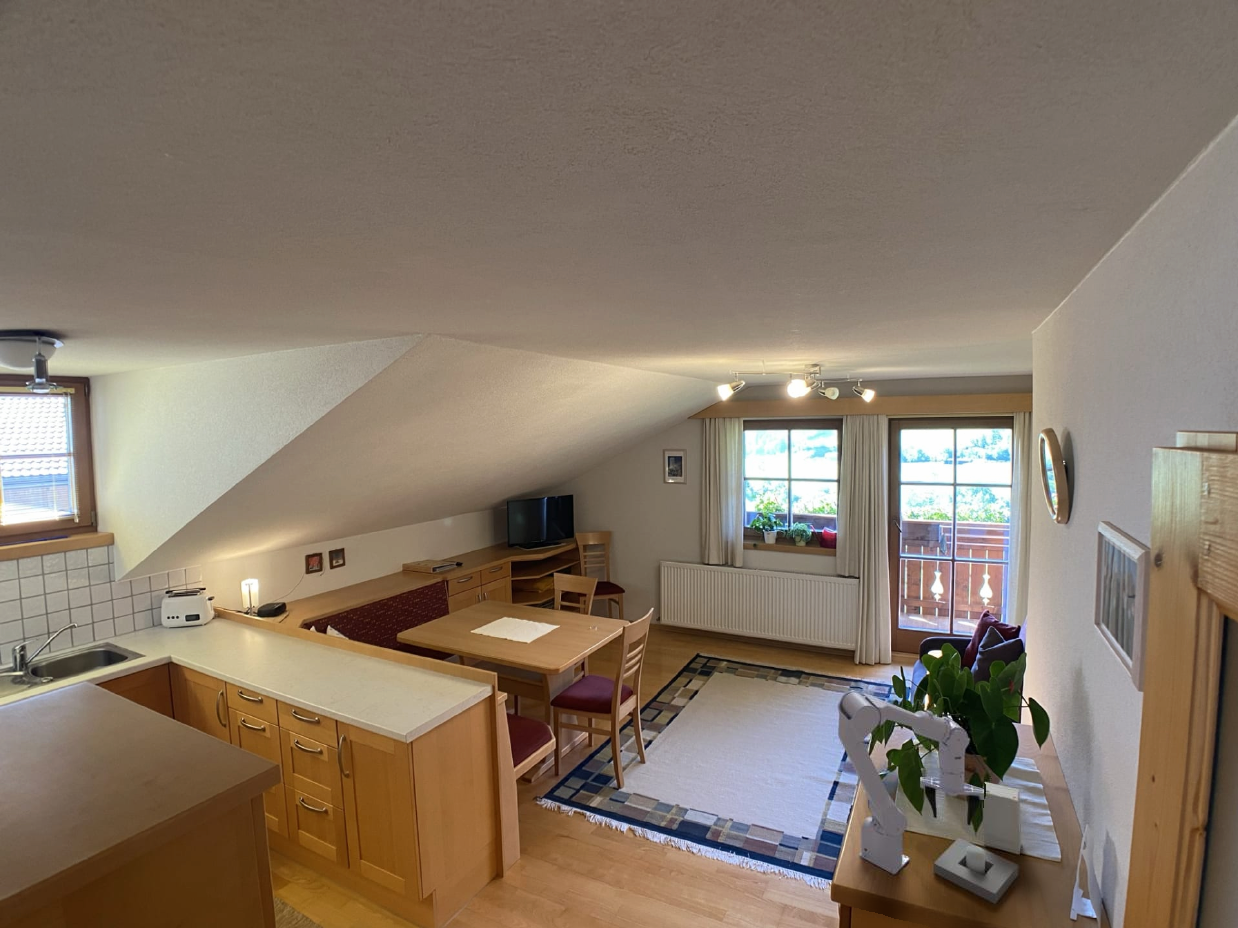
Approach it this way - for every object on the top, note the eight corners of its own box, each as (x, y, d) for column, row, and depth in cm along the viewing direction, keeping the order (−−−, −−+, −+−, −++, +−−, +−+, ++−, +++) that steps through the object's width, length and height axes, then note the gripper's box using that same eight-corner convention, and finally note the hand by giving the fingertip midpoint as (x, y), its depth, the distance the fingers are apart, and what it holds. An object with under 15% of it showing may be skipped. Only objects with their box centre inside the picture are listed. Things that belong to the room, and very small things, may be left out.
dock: (933, 872, 161) (933, 862, 161) (958, 846, 170) (958, 837, 169) (995, 903, 150) (995, 893, 150) (1018, 874, 159) (1018, 864, 159)
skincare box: (1021, 843, 170) (1021, 788, 169) (1019, 856, 165) (1019, 800, 164) (984, 832, 175) (984, 779, 174) (981, 844, 170) (981, 790, 169)
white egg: (963, 873, 160) (963, 850, 159) (970, 865, 163) (969, 842, 162) (981, 881, 157) (981, 858, 156) (987, 873, 160) (987, 850, 159)
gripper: (919, 770, 165) (920, 821, 166) (985, 782, 158) (985, 835, 160) (920, 756, 171) (920, 805, 172) (983, 767, 165) (983, 818, 166)
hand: (951, 818), depth 166 cm, fingers open, 7 cm apart
